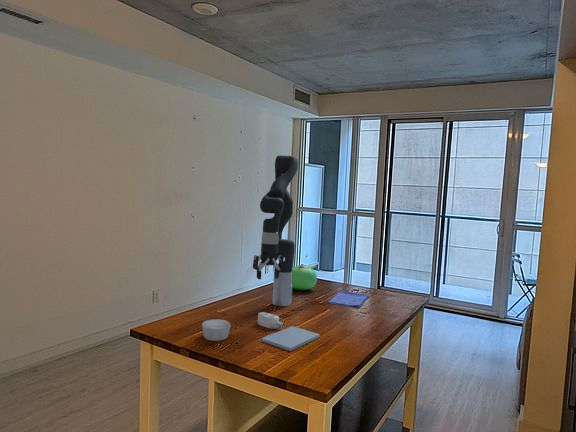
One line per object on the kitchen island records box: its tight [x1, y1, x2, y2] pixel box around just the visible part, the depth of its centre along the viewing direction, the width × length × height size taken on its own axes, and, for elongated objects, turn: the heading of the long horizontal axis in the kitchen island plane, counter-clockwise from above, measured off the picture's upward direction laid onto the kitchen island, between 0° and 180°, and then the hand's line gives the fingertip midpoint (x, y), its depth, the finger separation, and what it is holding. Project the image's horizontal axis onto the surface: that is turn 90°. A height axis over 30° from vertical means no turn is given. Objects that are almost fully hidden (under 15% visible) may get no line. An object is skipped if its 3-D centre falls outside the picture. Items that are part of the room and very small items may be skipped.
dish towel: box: [328, 290, 369, 309], centre depth 232 cm, size 17×24×3 cm
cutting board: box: [261, 325, 321, 352], centre depth 169 cm, size 20×14×1 cm
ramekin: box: [201, 318, 231, 342], centre depth 168 cm, size 11×11×5 cm
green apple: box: [292, 264, 318, 291], centre depth 250 cm, size 18×17×15 cm
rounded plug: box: [257, 311, 284, 330], centre depth 184 cm, size 4×13×4 cm, turn 53°
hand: (267, 278), depth 189 cm, fingers open, 8 cm apart
